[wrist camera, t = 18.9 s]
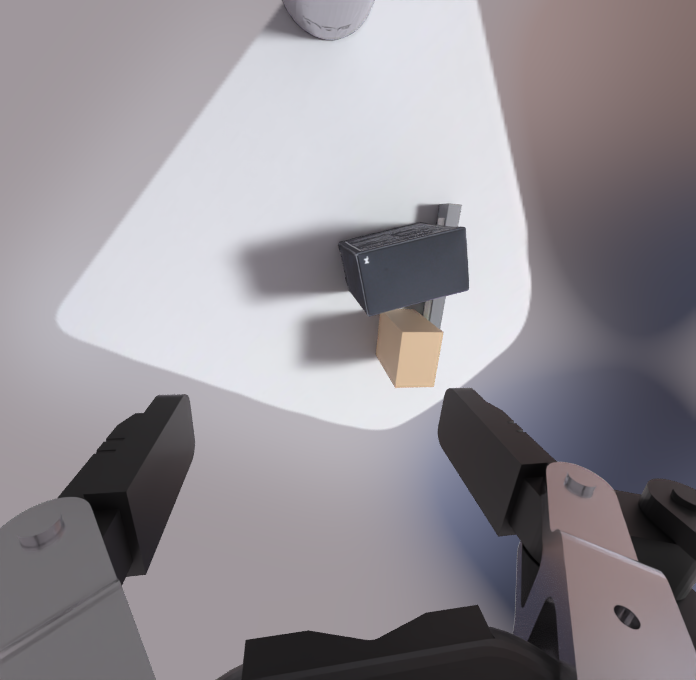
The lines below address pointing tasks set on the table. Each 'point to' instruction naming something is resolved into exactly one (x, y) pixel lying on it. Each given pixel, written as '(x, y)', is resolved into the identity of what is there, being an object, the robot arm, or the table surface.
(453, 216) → the rail
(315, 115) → the table surface
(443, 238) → the small box
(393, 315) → the kraft carton
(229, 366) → the table surface
